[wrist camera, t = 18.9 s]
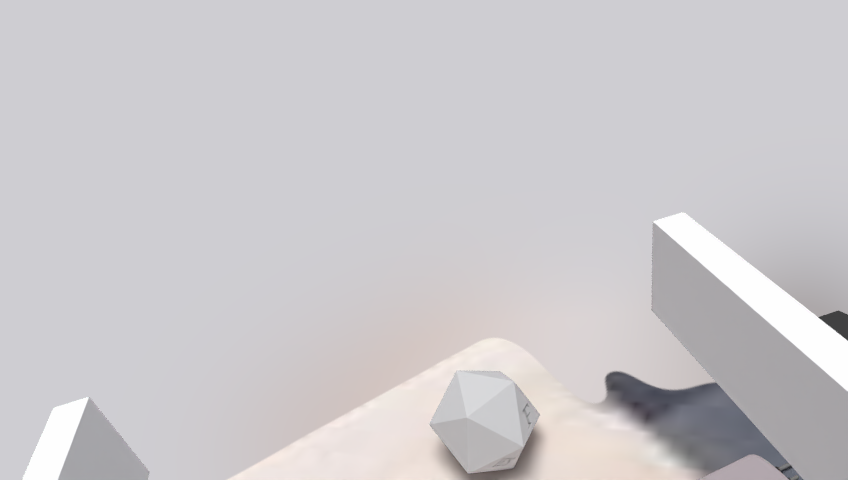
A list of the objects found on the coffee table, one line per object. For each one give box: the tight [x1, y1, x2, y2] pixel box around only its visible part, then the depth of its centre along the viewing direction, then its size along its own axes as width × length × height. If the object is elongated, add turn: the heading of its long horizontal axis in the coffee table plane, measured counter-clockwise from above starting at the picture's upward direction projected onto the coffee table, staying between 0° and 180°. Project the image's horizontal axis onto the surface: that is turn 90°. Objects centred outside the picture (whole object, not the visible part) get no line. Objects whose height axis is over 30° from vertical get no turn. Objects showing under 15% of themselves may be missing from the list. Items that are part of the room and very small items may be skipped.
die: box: [429, 371, 540, 474], centre depth 49 cm, size 8×9×10 cm
